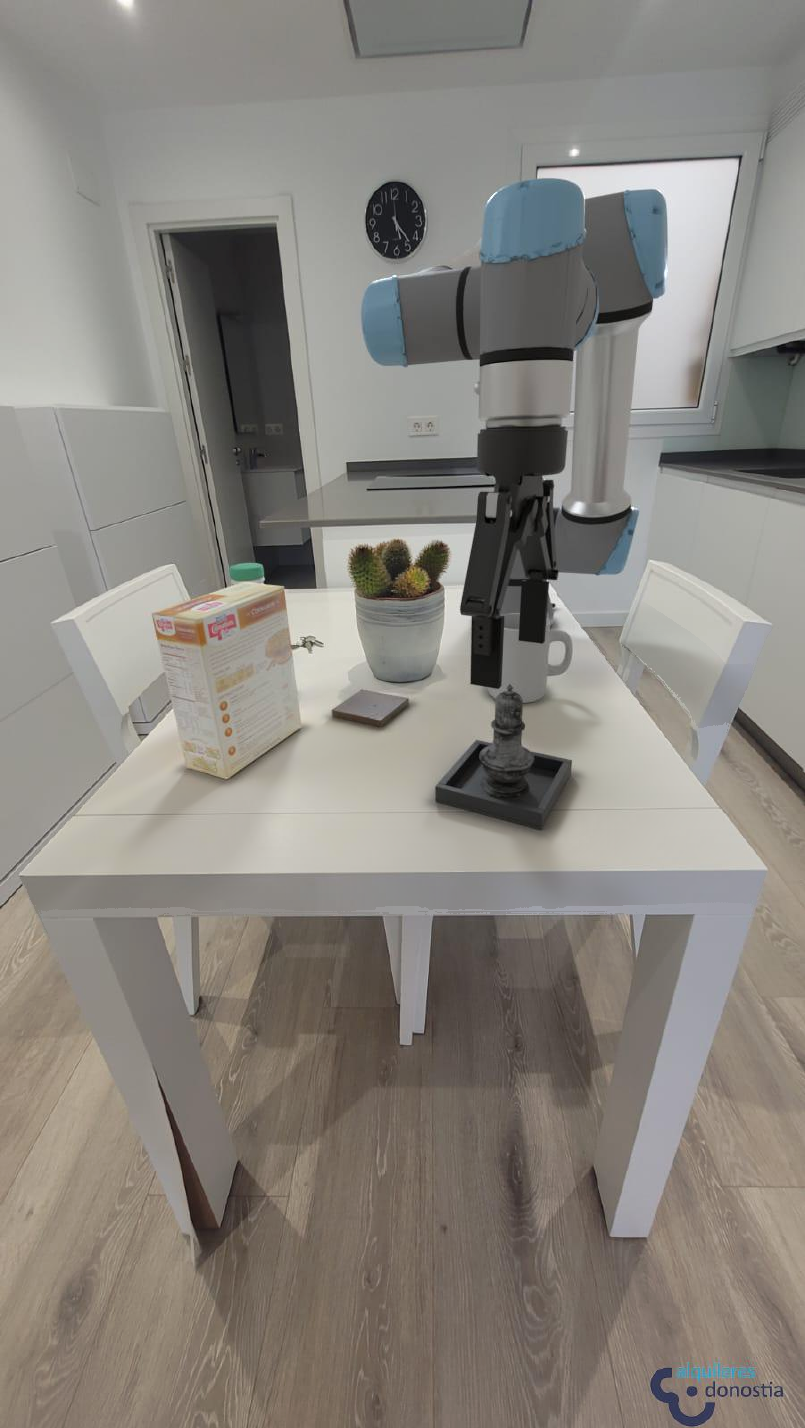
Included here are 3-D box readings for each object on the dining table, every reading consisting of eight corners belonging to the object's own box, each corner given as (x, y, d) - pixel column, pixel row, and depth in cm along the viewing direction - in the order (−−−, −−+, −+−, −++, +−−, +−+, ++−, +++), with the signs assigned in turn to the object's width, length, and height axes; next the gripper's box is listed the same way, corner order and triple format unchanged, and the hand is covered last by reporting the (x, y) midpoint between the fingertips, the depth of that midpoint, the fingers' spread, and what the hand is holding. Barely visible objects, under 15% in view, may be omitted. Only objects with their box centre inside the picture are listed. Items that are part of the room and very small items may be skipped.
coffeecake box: (263, 718, 84) (242, 580, 75) (304, 727, 81) (287, 585, 72) (183, 768, 72) (147, 611, 64) (227, 781, 69) (196, 618, 60)
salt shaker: (491, 803, 62) (495, 699, 57) (470, 775, 67) (472, 678, 62) (542, 793, 64) (550, 690, 59) (517, 766, 69) (523, 670, 64)
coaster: (362, 695, 90) (361, 689, 89) (408, 704, 86) (408, 698, 86) (332, 716, 84) (331, 710, 83) (381, 727, 80) (380, 720, 80)
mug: (491, 704, 85) (493, 631, 81) (484, 681, 93) (486, 613, 88) (575, 702, 85) (582, 628, 80) (561, 679, 93) (568, 611, 88)
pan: (475, 753, 73) (476, 739, 72) (570, 774, 68) (572, 759, 67) (435, 801, 64) (435, 786, 63) (541, 830, 59) (542, 814, 58)
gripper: (525, 424, 62) (515, 623, 71) (415, 426, 42) (420, 701, 51) (599, 422, 58) (579, 630, 67) (517, 422, 39) (504, 717, 48)
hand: (510, 661), depth 59 cm, fingers open, 13 cm apart
